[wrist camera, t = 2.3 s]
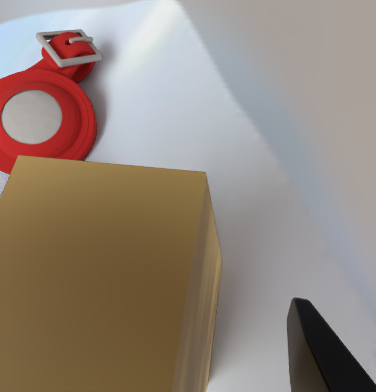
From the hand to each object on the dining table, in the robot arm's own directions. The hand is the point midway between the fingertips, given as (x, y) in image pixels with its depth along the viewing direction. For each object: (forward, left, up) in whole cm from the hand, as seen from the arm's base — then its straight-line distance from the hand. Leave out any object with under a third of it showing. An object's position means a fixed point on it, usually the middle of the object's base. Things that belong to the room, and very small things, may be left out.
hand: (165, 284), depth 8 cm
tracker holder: (+14, +9, -7) cm, 18 cm away
